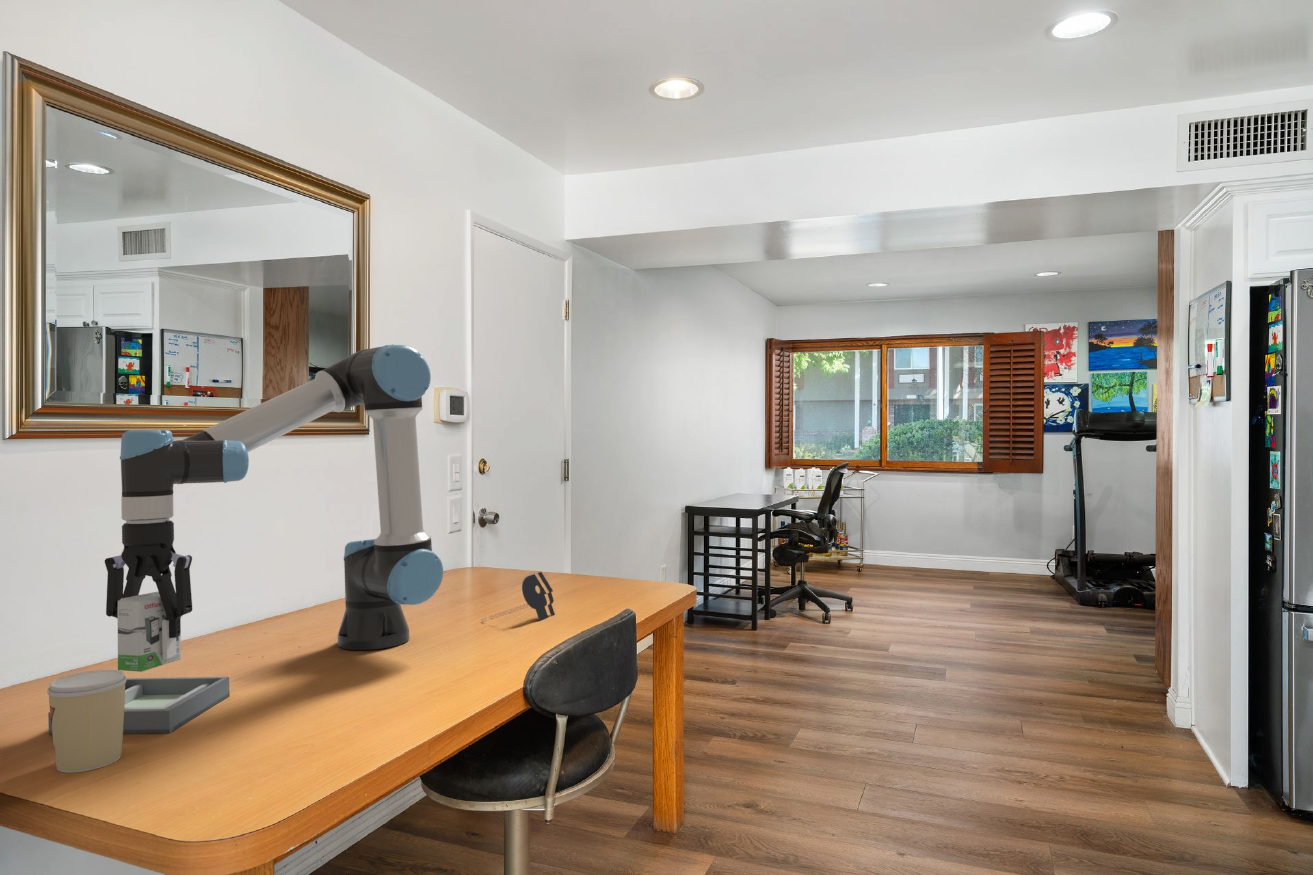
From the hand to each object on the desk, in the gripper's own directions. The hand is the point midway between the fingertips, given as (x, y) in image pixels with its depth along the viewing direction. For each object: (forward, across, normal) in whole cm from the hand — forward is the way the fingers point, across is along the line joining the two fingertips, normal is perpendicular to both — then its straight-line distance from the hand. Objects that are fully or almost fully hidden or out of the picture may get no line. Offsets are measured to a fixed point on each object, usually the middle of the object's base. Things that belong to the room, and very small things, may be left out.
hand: (150, 656), depth 141 cm
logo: (+9, -54, -65) cm, 85 cm away
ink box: (+2, 0, 0) cm, 2 cm away
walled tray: (+9, 0, +2) cm, 9 cm away
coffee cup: (+9, -5, +22) cm, 24 cm away
